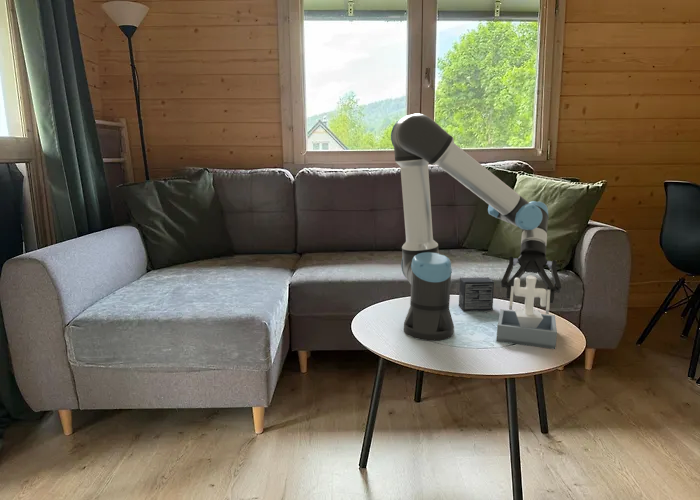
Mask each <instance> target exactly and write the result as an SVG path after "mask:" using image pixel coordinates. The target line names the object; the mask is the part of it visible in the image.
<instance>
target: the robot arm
mask: <svg viewBox="0 0 700 500" xmlns="http://www.w3.org/2000/svg"><path fill="white" fill-rule="evenodd" d="M390 141H391V143H392V146H393V152H394V154H393V155H394V162H395V164H397V165H398V166H399V167H400V178H401V179H400V180H401V191H402V203H403V205H402V206H403V218H404V229H405V231H404V232H405V242H404V243H403V245H402V246H401V251H402V252H401V253H402V259H401V262H400V264H401V265H400V266H401V267H400V268H401V271H402V274H403V276H404V277H405V279H407V281H408V282H409V284H410V303H409V304H410V305H409V309H408V311H407V313H406V316H405V319H404V322H403V332H404V333H405V334H406V335H407V336H408V337H411V338H414V339H417V340H421V341H422V340H423V341H443V340H448V339H450V338H451V337H453V336H454V333H455V332H454V331H455V326H454V321H453V319H452V318H453V317H452V314H451V311H450V298H451V283H452V282H451V281H452V280H451V279H452V273H453V272H452V271H453V267H452V262H451V260H450V258H449V257H448V256H446V255H444V254H441V253H439V251H440V250H439V243H438V242H437V241H436V240H434V236H433V221H432V219H433V218H432V217H433V216H432V205H431V190H430V188H431V187H430V178H429V177H430V175H429V174H430V173H429V164H430V165H431V166H436V165H437V166H438V167H439V168H440V169H442V170H443V171H444V172H446V173H447V174H448V175H449V176H451V177H452V178H454V179H455V180H456V181H458V183H460V184H461V185H463V186H464V187H465V188H466V189H468V190H470V192H472V193H473V194H474V195H476V196H477V197H478V198H480V200H482V201H484V202H485V203H486V204H487V205H488V206H487V207H488V208H487V212H488V215H489V216H492V217H494V218H495V219H499V220H501V221H503V222H506V223H508V224H510V225H513V226H515V227H517V228H519V229H520V230H521V240H520V252H519V256H518V258H517V257H516V258H514V257H513V256H509V259H508V265H507V267H506V268H505V269H506V270H505V272H504V274H503V277H502V278H501V279H502V280H501V288H505V289H506V296H505V297H506V299H509V306H508V307H509V309H508V310H512V311H513V305H514V279H515V278H519V279H521V277H522V276H523V275H524V274H525V272H526V273H533V274H538V275H539V277H540V279H541V280H542V282H543V284H544V286H545V287H546V291H547V301H546V306H545V314H547V315H550V314H549V313H550V306H551V305H550V304H554V301H555V293H557V294H558V293H561V290H562V285H561V281H560V277H559V274H558V270H557V260H556V259H553V260H552V261H551V260H548V259H547V242H548V226H549V219H550V218H549V208H548V206H547V204H545V203H544V202H543V201H536V200H532V201H528V200H526V198H524V197H522V196H521V195H520V194H519V193H518V192H516V191H515V190H514V189H513V188H511V187H510V186H509V185H507V184H506V183H505V182H504V181H502V180H501V179H500V178H499V177H498V176H497V175H495V174H493V172H492V171H490V170H489V169H488V168H486V167H485V166H484V165H482V164H481V163H480V162H478V160H476V159H475V158H474V157H472V156H471V155H470V154H468V153H467V152H466V151H465V150H464V149H462V148H461V147H459V146H458V145H457V144H456V143H455V141H454V137H453V136H452V135H451V134H449V133H448V132H447V131H446V130H445V129H444V128H443V127H441V126H440V125H439V124H438V123H437V122H436V121H435V120H433V119H432V118H431V117H429V116H428V115H426V114H423V113H413V114H408V115H404V116H402V117H401V118H400V119H398V120H397V121H396V122H395V124H394V125H393V126H392V129H391V133H390ZM517 264H518V265H519V268H518V269H517V271H516V273H515V274H514V275H513V276H512V277H511V278H510V276H511V274H512V272H513V269H514V267H515V266H516V265H517ZM546 266H547V267H548V269H549V270H550V272H551V277H552V280H553V282H552V281H551V279H550V277H549V276H548V274H547V272H546V271H545V267H546ZM509 278H510V279H509ZM553 284H554V285H553Z"/></svg>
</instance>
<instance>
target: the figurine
mask: <svg viewBox="0 0 700 500" xmlns="http://www.w3.org/2000/svg"><path fill="white" fill-rule="evenodd" d="M525 283H526V285H525V286H524V287H523V286H521V278H515V279H514V293H513V296H515V297H523V298H524V308H523V309H522V308H514V311H515V312H516V315H517V318H518V321H519V324H520V326H521V327H526V328H537V326H538V325H539V324H540V322H541V321H542V320H543V317H542V315H541V314H542V313H541V312H540V309H534V304H535V302H534V301H535V298H539V299H540V302H539V304H540V307H541V308H546V301H547V288H543V287H540V288H539V287H536V284H537V277H536V276H535V275H530V274H528V275H527V276H526V277H525Z"/></svg>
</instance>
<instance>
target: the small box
mask: <svg viewBox="0 0 700 500" xmlns="http://www.w3.org/2000/svg"><path fill="white" fill-rule="evenodd" d="M458 289H459V292H458V293H459V295H458V307H459V309H461V311H463V312H479V311H480V312H483V311H489V312H490V311H491V312H492V311H493V309H494V289H495V281H494V280H492V279H491V278H490V277H486V276H485V277H460V278H459V287H458Z"/></svg>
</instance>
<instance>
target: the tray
mask: <svg viewBox="0 0 700 500" xmlns="http://www.w3.org/2000/svg"><path fill="white" fill-rule="evenodd" d="M541 315H542V317H543V320H542V321H541V322H540V324H539V325H538V326H537V328H526V327H521V326H520V324H519V321H518V318H517V315H516V312H515V310H513V309H512V310H509V309H500V311H499V315H498V321H497V325H496V326H497V327H496V339H495V341H496V342H500V343H508V344H515V345H519V346H520V345H521V346H528V347H534V348H542V349H543V348H544V349H552V350H556V347H557V346H556V345H557V337H558V336H557V335H558V329H557V323H556V322H557V321H556V315H553V314H546V313H545V314H544V313H541Z"/></svg>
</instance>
